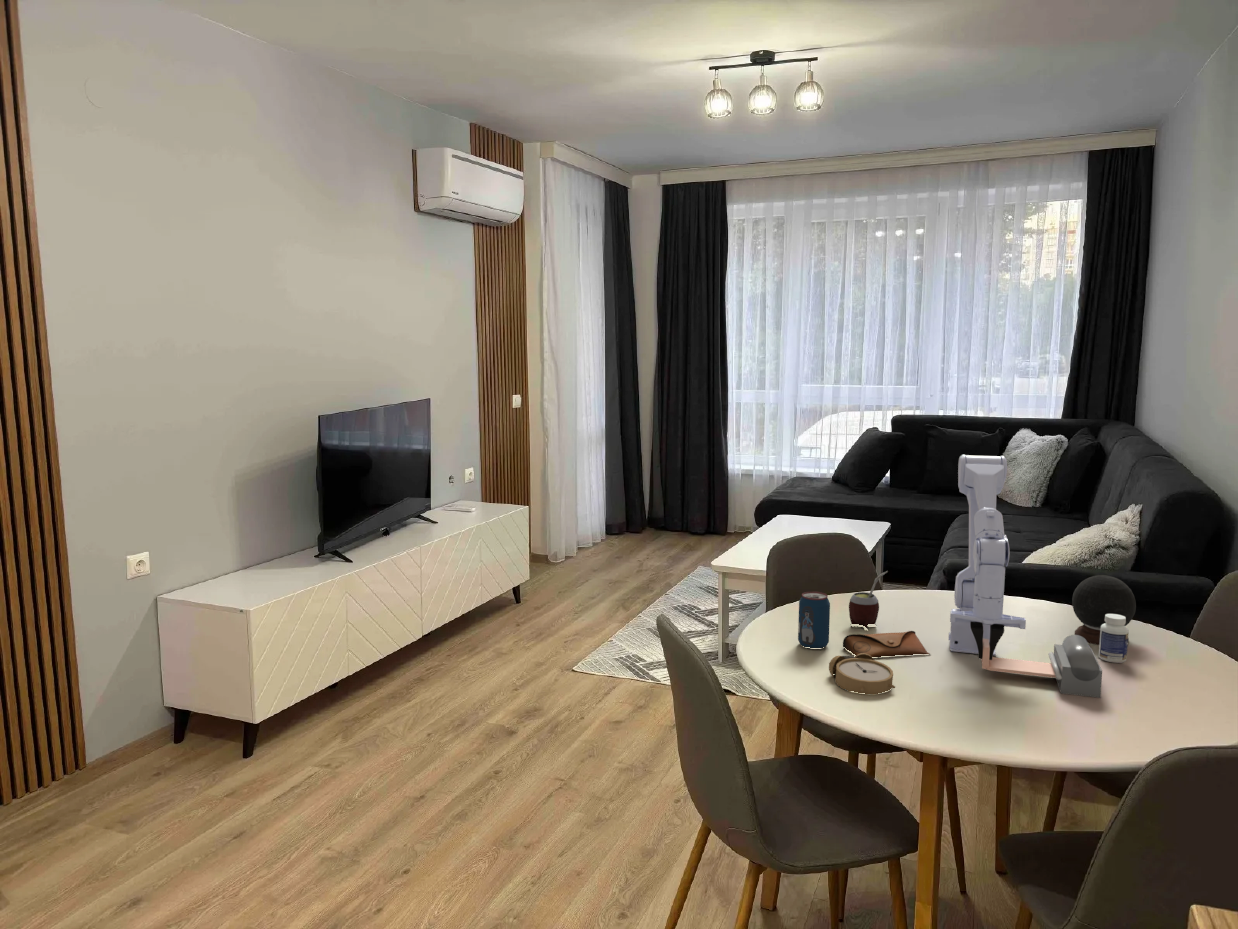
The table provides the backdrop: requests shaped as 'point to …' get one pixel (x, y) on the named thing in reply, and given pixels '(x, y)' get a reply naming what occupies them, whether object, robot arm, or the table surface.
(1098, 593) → the black ball on stand
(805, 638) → the soda can
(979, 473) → the robot arm
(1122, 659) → the pill bottle
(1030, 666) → the pink l-shaped bracket
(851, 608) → the mate gourd
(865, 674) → the alarm clock
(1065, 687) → the dispenser
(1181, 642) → the table surface
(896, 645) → the sunglasses case
